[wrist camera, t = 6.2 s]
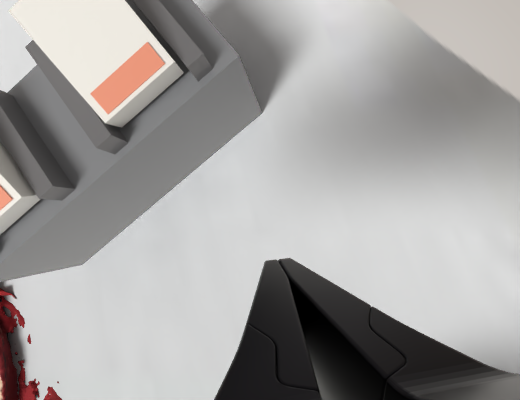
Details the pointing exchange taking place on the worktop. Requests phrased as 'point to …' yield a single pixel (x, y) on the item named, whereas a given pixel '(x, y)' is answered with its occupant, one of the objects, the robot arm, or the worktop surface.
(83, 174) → the switch box
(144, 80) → the rocker
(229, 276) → the worktop surface
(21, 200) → the block
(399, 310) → the worktop surface
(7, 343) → the plate with food
